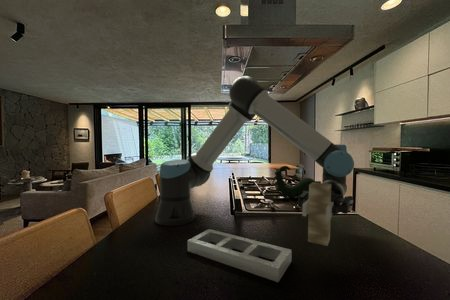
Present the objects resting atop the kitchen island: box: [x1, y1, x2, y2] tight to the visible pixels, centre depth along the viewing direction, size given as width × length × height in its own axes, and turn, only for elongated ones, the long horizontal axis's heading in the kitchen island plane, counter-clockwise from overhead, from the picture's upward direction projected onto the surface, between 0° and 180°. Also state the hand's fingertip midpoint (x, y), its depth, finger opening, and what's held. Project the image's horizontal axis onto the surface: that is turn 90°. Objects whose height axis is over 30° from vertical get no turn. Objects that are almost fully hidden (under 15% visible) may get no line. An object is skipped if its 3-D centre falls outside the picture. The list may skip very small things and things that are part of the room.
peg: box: [307, 182, 332, 247], centre depth 54 cm, size 4×4×14 cm
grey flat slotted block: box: [186, 228, 293, 283], centre depth 58 cm, size 26×10×3 cm, turn 57°
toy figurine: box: [274, 165, 322, 199], centre depth 122 cm, size 10×19×26 cm
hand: (315, 212), depth 50 cm, fingers closed on peg, 4 cm apart
